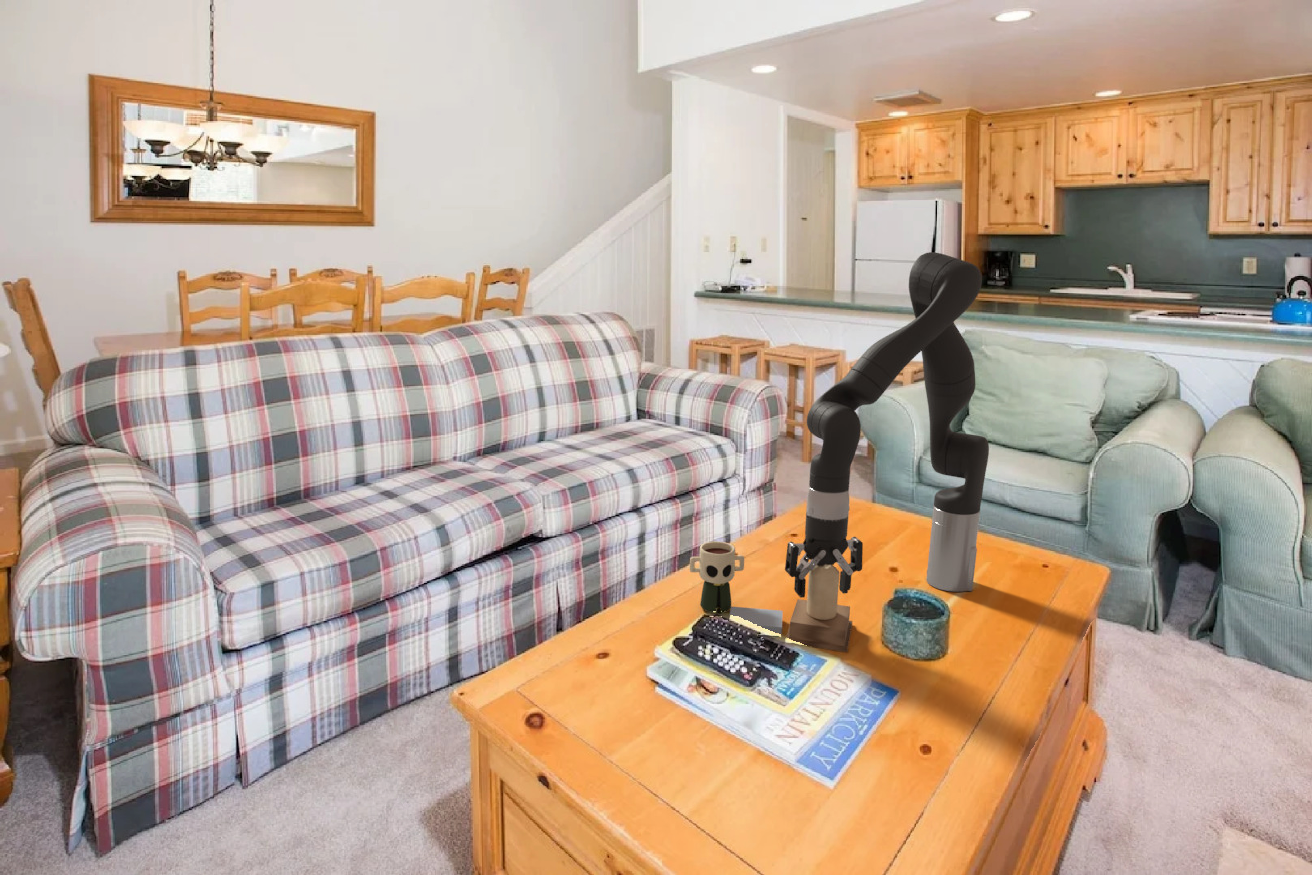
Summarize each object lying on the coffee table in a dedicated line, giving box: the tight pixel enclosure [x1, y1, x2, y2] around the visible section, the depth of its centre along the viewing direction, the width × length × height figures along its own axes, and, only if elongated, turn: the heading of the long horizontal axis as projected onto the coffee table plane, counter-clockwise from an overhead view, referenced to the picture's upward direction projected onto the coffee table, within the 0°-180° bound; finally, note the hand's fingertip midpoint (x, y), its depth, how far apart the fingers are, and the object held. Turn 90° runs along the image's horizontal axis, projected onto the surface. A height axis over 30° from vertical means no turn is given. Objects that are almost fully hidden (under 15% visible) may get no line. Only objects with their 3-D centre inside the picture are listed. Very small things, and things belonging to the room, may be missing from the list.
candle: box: [806, 564, 840, 620], centre depth 150 cm, size 6×6×10 cm
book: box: [729, 605, 784, 634], centre depth 154 cm, size 10×7×2 cm
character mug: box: [689, 541, 745, 613], centre depth 160 cm, size 11×7×13 cm, turn 96°
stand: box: [785, 598, 853, 653], centre depth 151 cm, size 11×11×4 cm
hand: (822, 593), depth 150 cm, fingers open, 8 cm apart
